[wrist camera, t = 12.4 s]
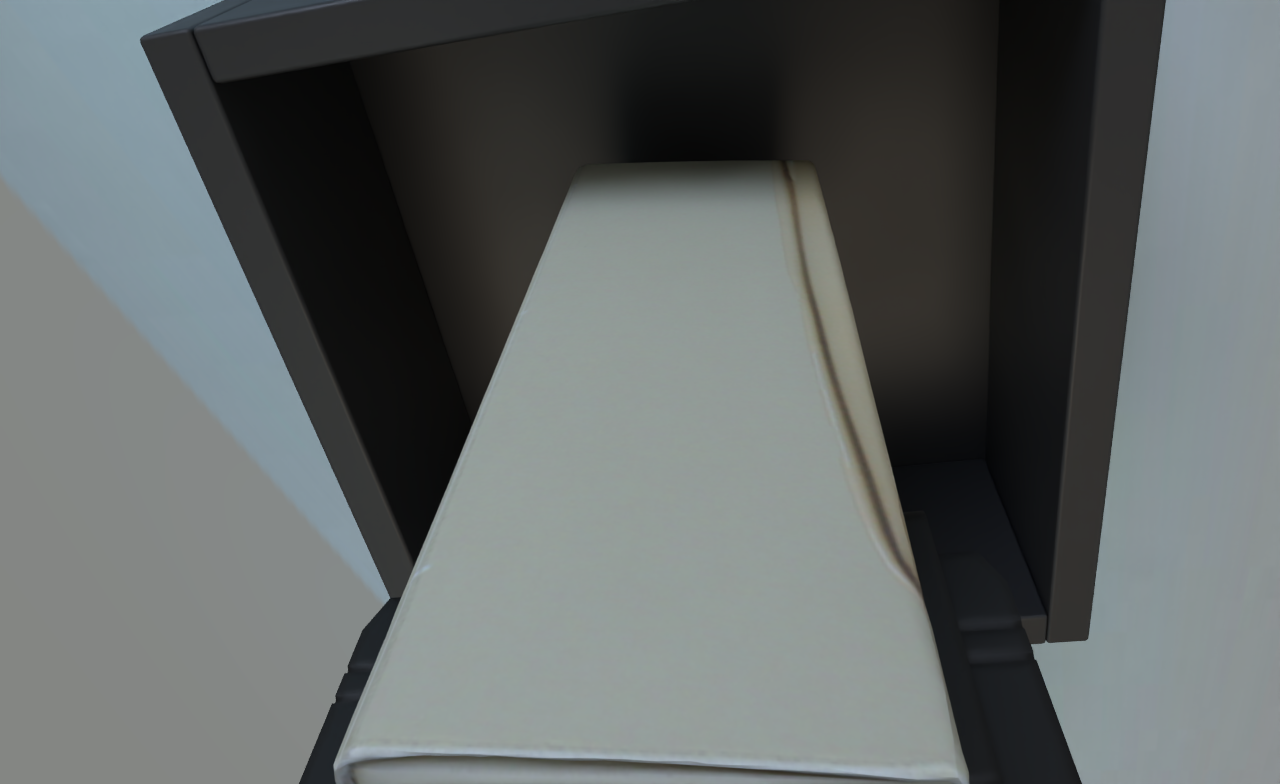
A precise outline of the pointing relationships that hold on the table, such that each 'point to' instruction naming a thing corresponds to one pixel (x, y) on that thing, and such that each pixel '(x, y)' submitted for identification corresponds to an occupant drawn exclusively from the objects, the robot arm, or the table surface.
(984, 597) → the robot arm
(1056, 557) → the dark grey open box
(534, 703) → the cosmetic box
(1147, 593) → the table surface
